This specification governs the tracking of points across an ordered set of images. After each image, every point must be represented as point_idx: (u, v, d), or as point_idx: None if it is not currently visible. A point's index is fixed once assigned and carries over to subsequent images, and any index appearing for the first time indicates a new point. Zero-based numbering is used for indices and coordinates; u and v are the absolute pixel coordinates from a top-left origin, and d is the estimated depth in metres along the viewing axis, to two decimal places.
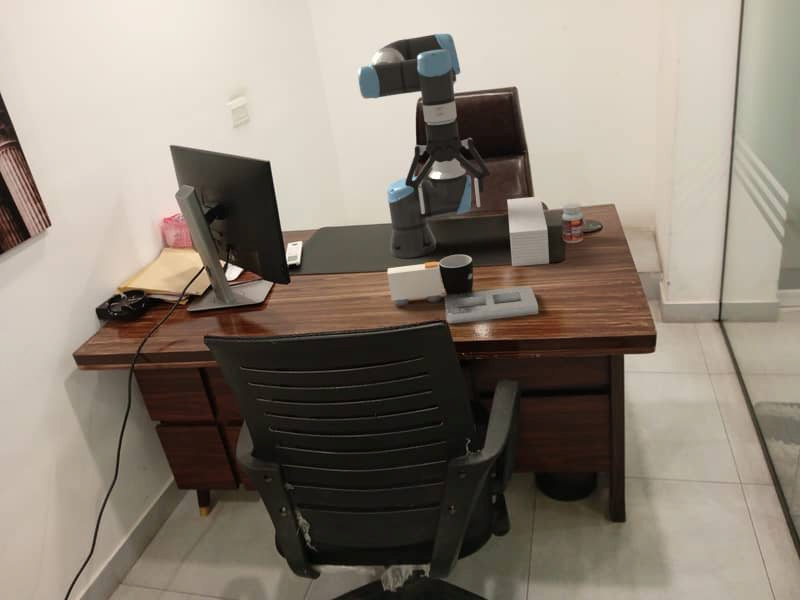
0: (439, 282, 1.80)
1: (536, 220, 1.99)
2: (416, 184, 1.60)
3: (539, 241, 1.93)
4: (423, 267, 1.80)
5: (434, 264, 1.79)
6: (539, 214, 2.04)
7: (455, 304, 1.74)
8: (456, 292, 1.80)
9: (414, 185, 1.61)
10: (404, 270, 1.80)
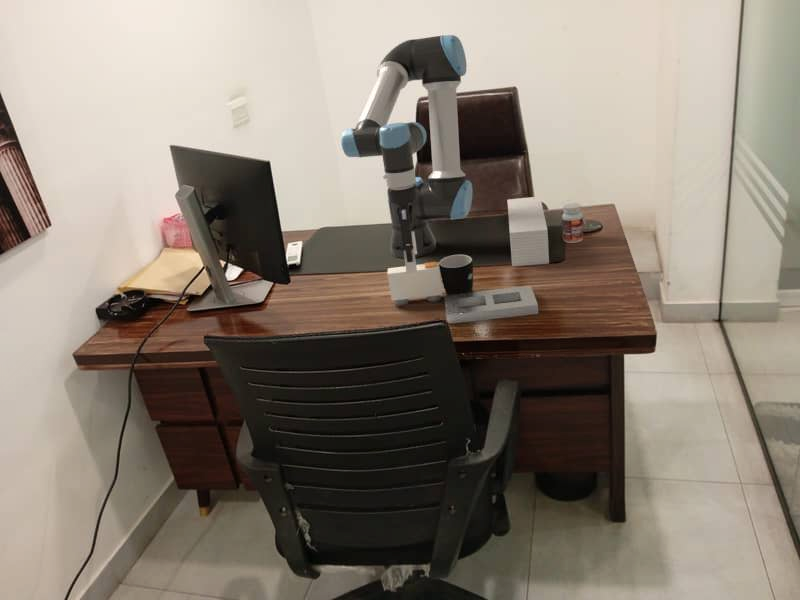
0: (439, 282, 1.80)
1: (536, 220, 1.99)
2: None
3: (539, 241, 1.93)
4: (423, 267, 1.80)
5: (434, 264, 1.79)
6: (539, 214, 2.04)
7: (455, 304, 1.74)
8: (456, 292, 1.80)
9: None
10: (404, 270, 1.80)
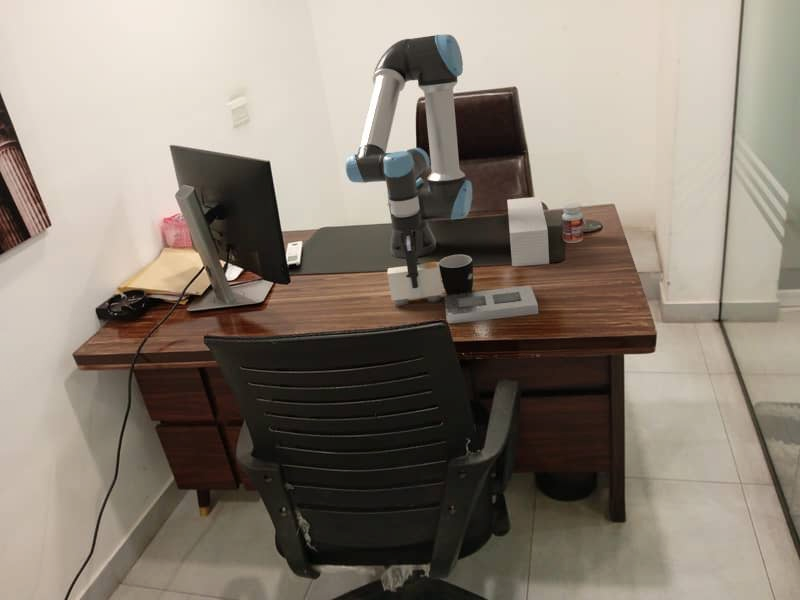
0: (439, 282, 1.80)
1: (536, 220, 1.99)
2: None
3: (540, 242, 1.93)
4: (423, 267, 1.80)
5: (434, 264, 1.79)
6: (539, 214, 2.04)
7: (455, 304, 1.74)
8: (456, 292, 1.80)
9: None
10: (404, 270, 1.80)
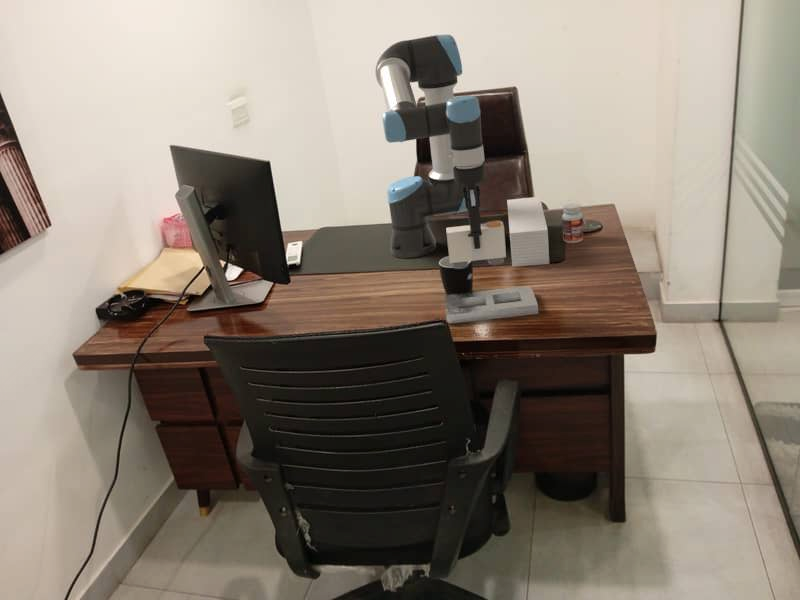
0: (503, 243, 1.64)
1: (536, 220, 1.99)
2: (469, 224, 1.68)
3: (540, 242, 1.93)
4: (486, 226, 1.64)
5: (498, 223, 1.64)
6: (539, 214, 2.03)
7: (455, 304, 1.74)
8: (456, 292, 1.80)
9: None
10: (465, 229, 1.64)
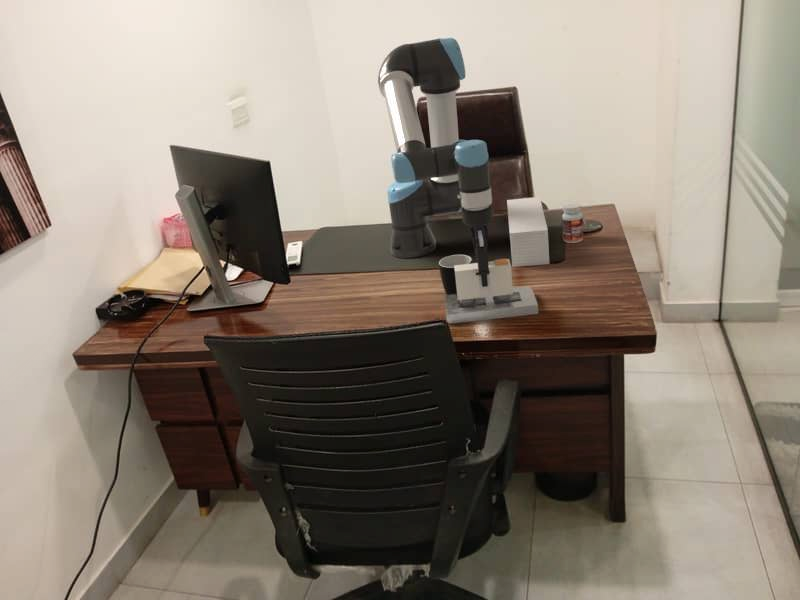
0: (510, 280, 1.68)
1: (536, 220, 1.99)
2: (476, 261, 1.72)
3: (540, 242, 1.92)
4: (493, 264, 1.68)
5: (505, 261, 1.68)
6: (539, 214, 2.03)
7: (455, 304, 1.74)
8: (456, 292, 1.80)
9: None
10: (473, 267, 1.68)
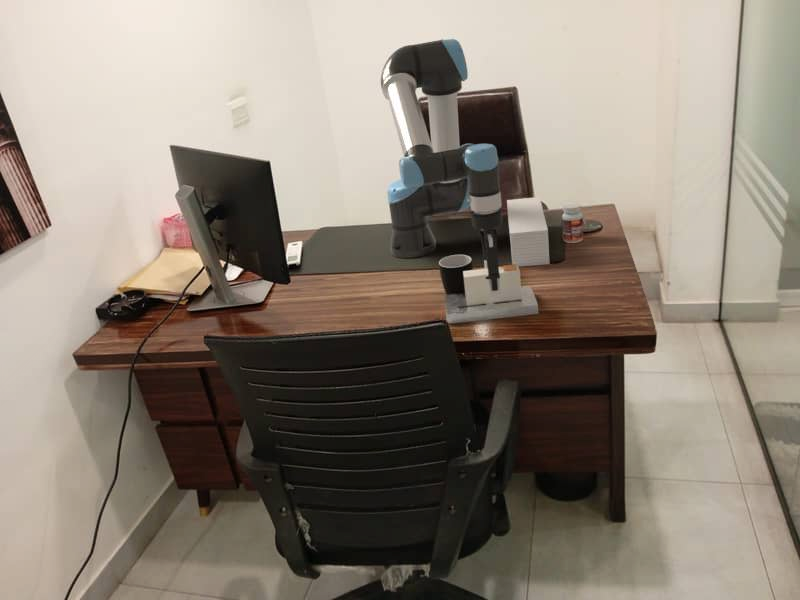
0: (519, 286, 1.69)
1: (536, 220, 1.99)
2: None
3: (540, 242, 1.92)
4: (502, 270, 1.69)
5: (514, 267, 1.68)
6: (539, 214, 2.03)
7: (455, 304, 1.74)
8: (456, 292, 1.80)
9: None
10: (482, 273, 1.69)
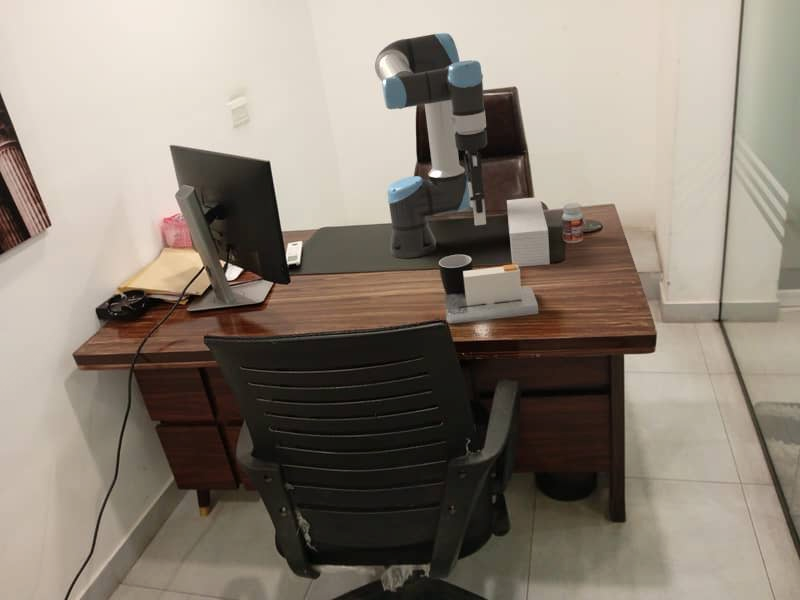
0: (519, 286, 1.69)
1: (536, 220, 1.99)
2: (468, 178, 1.71)
3: (540, 242, 1.92)
4: (502, 270, 1.69)
5: (514, 267, 1.68)
6: (539, 214, 2.03)
7: (455, 304, 1.74)
8: (456, 292, 1.80)
9: None
10: (482, 273, 1.69)
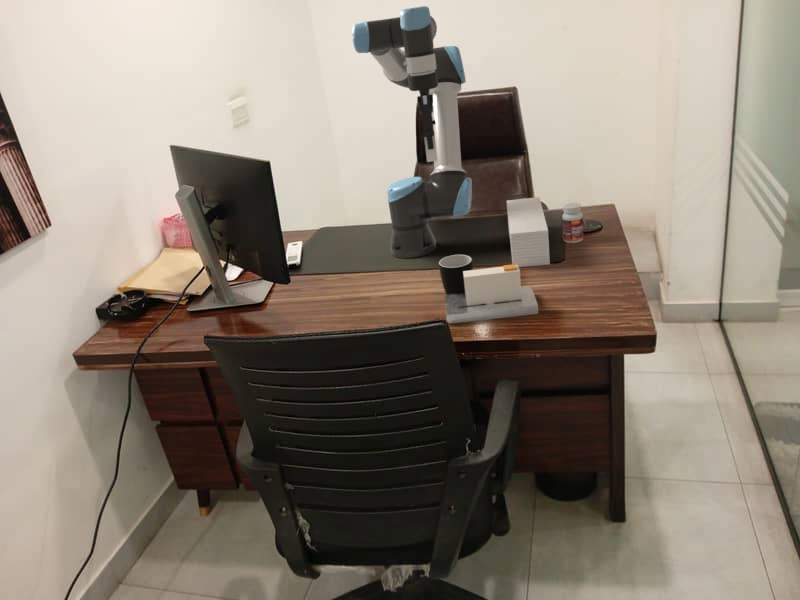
0: (519, 286, 1.69)
1: (536, 220, 1.99)
2: None
3: (540, 242, 1.92)
4: (502, 270, 1.69)
5: (514, 267, 1.68)
6: (539, 214, 2.03)
7: (455, 304, 1.74)
8: (456, 292, 1.80)
9: None
10: (482, 273, 1.69)
